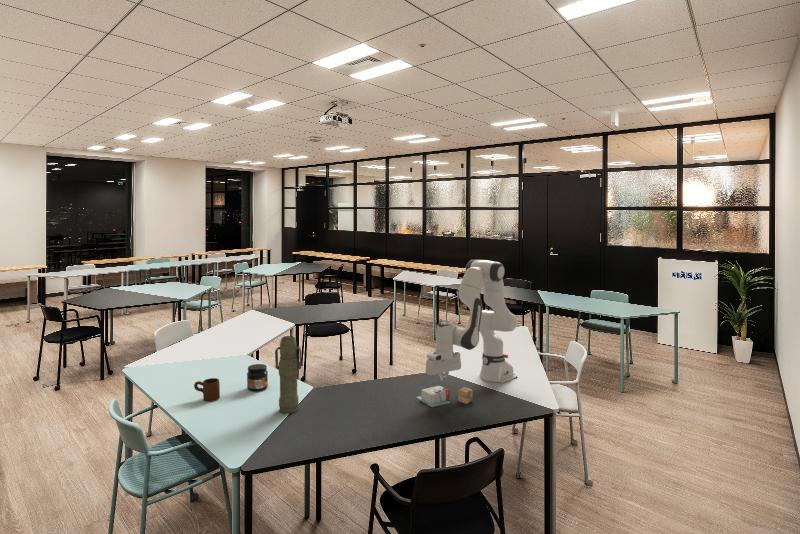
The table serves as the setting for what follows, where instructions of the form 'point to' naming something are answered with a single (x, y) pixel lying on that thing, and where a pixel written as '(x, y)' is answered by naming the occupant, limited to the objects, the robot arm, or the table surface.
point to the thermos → (288, 374)
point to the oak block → (465, 395)
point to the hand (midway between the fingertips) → (443, 380)
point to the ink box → (435, 394)
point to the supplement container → (257, 377)
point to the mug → (209, 389)
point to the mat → (433, 403)
